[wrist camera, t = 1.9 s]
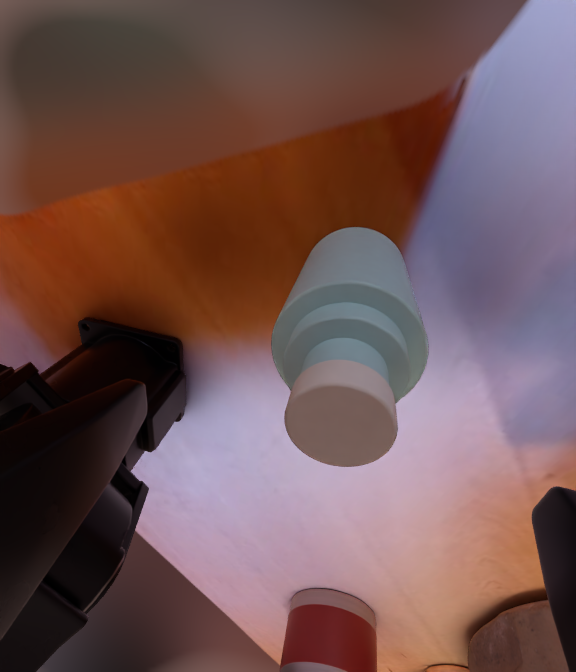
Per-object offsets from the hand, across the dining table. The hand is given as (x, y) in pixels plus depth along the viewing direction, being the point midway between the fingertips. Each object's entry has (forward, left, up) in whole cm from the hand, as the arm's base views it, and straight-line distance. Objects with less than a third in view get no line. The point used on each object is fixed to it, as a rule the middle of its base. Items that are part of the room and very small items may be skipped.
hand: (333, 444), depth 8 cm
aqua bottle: (0, 0, -11) cm, 11 cm away
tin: (+6, -33, -11) cm, 35 cm away
